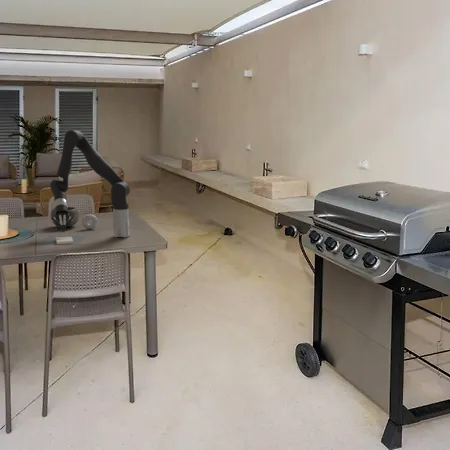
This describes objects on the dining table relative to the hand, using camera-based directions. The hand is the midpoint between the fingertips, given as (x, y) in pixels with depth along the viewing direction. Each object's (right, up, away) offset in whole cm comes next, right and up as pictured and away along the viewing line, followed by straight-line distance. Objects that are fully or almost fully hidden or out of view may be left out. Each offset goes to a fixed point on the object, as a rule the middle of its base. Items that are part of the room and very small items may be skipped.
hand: (63, 231), depth 310 cm
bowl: (-12, +2, +43) cm, 44 cm away
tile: (-1, -4, +3) cm, 5 cm away
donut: (+6, +1, +36) cm, 36 cm away
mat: (-1, -5, +3) cm, 6 cm away
